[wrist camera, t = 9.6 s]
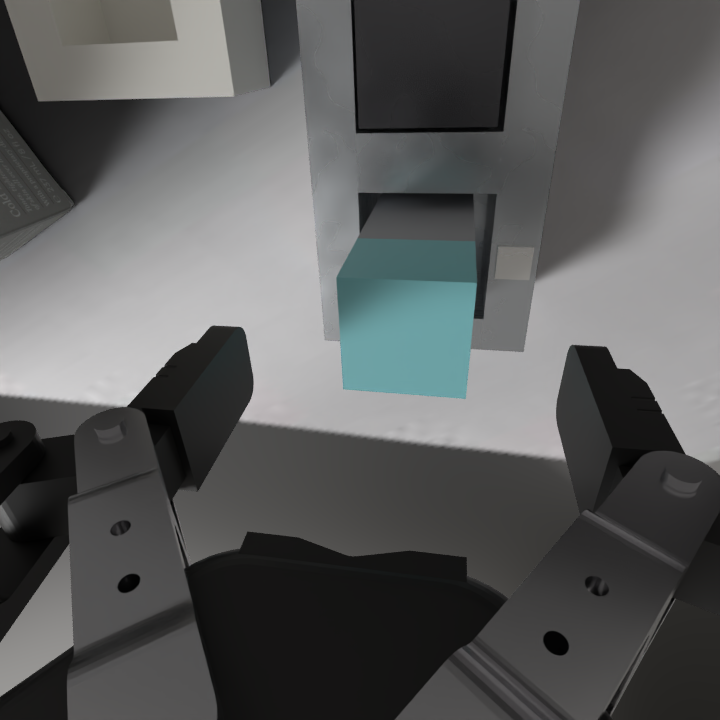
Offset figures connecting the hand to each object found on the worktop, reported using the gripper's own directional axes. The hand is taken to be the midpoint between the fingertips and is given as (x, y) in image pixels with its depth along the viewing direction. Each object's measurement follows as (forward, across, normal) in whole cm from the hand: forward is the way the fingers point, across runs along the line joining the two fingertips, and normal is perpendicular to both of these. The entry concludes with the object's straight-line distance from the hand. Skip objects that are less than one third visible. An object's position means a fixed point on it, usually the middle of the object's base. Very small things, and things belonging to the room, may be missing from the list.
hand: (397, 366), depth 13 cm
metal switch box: (+13, 0, -3) cm, 13 cm away
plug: (+12, 0, 0) cm, 12 cm away
